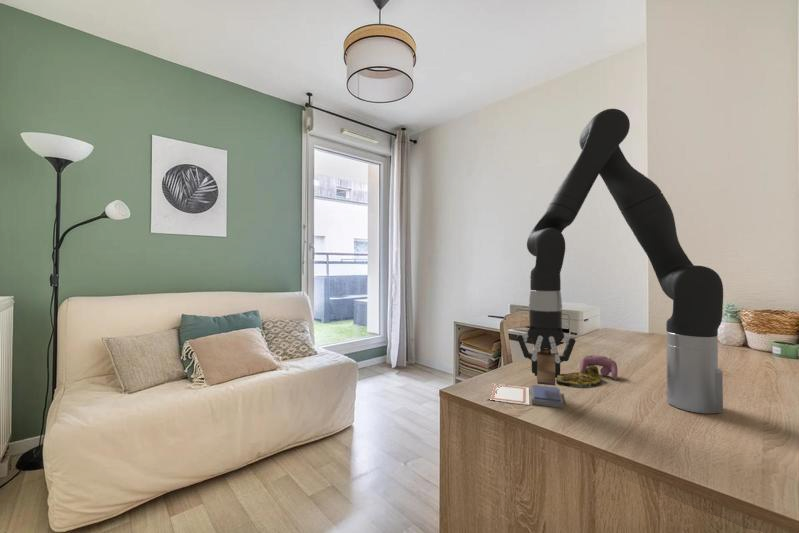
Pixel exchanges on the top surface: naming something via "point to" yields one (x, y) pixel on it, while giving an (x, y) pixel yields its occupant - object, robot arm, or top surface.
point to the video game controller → (601, 361)
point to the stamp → (546, 367)
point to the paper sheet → (511, 394)
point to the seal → (581, 378)
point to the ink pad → (546, 396)
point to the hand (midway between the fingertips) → (545, 375)
